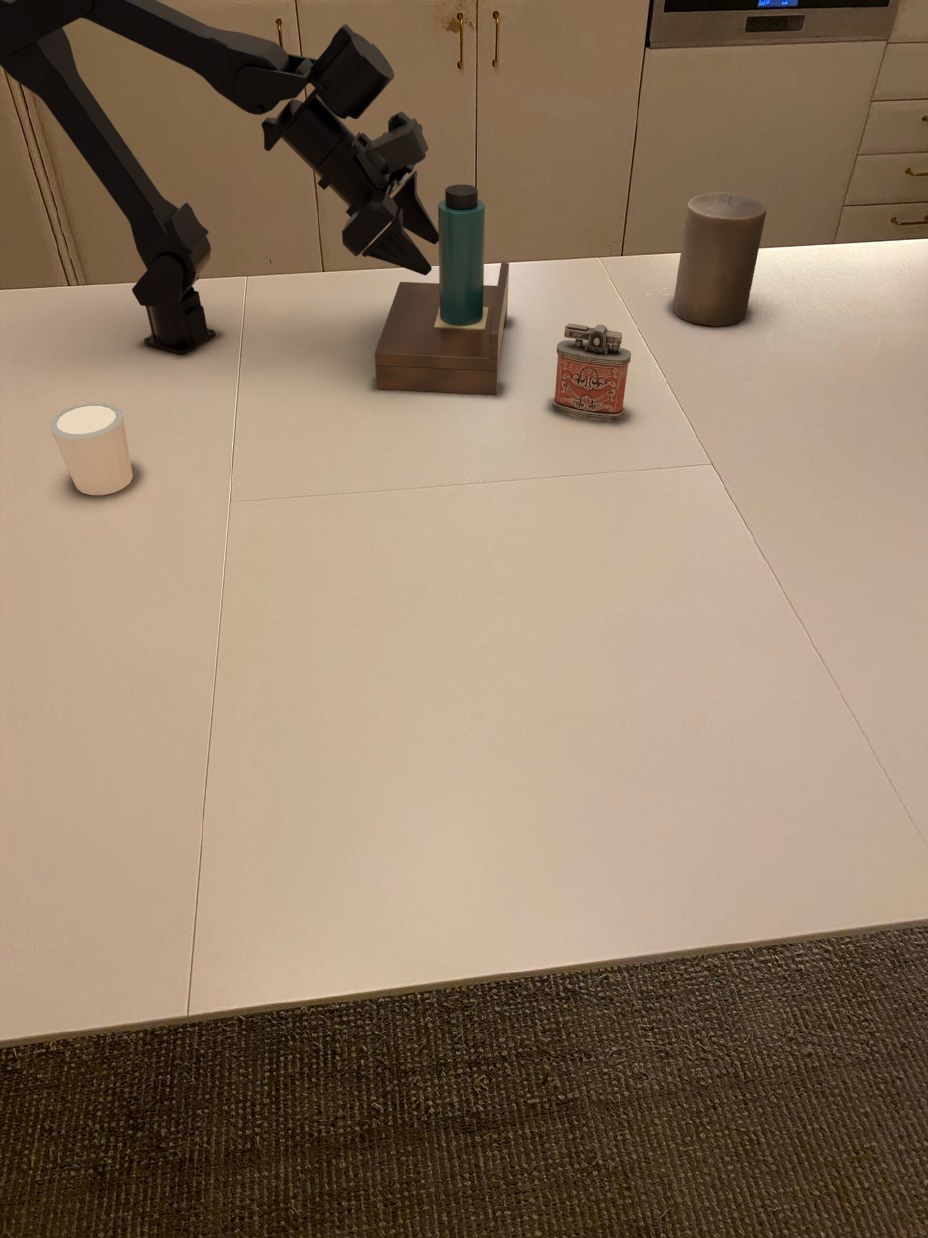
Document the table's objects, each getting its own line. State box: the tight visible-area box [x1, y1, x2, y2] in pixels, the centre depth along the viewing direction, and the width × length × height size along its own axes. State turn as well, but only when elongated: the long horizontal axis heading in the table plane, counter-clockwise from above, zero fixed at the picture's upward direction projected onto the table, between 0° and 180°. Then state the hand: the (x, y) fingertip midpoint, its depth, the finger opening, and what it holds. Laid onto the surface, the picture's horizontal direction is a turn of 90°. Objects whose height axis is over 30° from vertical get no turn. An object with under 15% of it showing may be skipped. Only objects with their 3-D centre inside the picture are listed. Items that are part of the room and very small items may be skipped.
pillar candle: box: [672, 191, 768, 327], centre depth 122 cm, size 10×10×15 cm
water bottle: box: [437, 184, 486, 326], centre depth 109 cm, size 5×5×15 cm
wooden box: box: [374, 262, 510, 396], centre depth 115 cm, size 14×20×8 cm
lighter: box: [552, 322, 632, 423], centre depth 104 cm, size 8×3×10 cm, turn 71°
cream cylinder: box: [49, 402, 134, 496], centre depth 94 cm, size 7×7×7 cm
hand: (433, 256), depth 110 cm, fingers open, 9 cm apart
